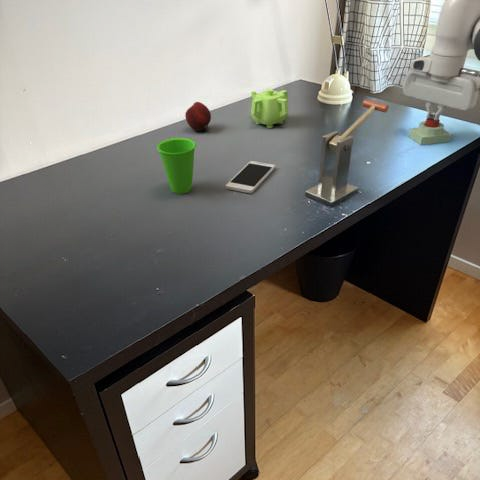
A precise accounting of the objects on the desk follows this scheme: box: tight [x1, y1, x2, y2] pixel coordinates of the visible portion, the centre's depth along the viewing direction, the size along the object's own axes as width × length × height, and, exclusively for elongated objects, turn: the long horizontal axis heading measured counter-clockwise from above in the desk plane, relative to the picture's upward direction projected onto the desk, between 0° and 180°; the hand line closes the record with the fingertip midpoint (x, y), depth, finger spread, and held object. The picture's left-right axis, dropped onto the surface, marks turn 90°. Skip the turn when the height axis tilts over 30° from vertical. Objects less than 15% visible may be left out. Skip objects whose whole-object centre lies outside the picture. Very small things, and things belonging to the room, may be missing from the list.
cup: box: [156, 137, 197, 195], centre depth 114 cm, size 9×9×11 cm
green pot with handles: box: [250, 88, 290, 129], centre depth 146 cm, size 12×12×10 cm
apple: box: [184, 101, 212, 132], centre depth 144 cm, size 7×8×8 cm
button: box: [425, 118, 441, 128], centre depth 134 cm, size 4×4×2 cm
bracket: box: [304, 130, 359, 208], centre depth 109 cm, size 10×8×14 cm
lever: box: [329, 99, 390, 153], centre depth 107 cm, size 16×6×2 cm, turn 134°
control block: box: [407, 120, 452, 146], centre depth 136 cm, size 9×7×4 cm
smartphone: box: [225, 160, 276, 194], centre depth 120 cm, size 7×15×1 cm, turn 155°
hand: (432, 119), depth 133 cm, fingers closed
